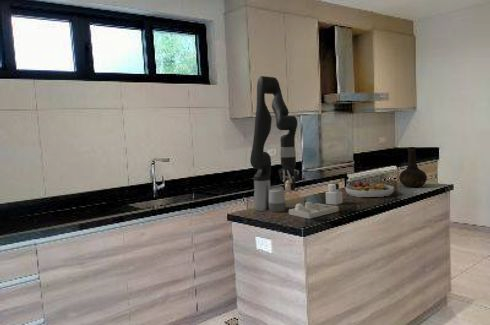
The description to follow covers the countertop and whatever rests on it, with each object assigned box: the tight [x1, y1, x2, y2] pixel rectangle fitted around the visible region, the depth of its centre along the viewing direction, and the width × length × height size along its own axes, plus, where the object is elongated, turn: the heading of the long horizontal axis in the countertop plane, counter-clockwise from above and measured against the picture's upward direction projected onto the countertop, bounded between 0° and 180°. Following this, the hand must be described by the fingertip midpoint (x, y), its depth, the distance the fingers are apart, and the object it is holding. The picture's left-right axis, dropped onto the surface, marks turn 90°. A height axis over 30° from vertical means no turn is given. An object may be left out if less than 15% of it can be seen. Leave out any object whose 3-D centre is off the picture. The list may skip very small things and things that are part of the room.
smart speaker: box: [268, 185, 287, 213], centre depth 214 cm, size 10×9×14 cm
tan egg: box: [284, 179, 295, 192], centre depth 194 cm, size 4×4×6 cm
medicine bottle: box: [325, 182, 343, 206], centre depth 228 cm, size 7×7×12 cm
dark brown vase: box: [398, 146, 428, 188], centre depth 271 cm, size 18×18×28 cm
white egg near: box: [294, 202, 304, 211], centre depth 203 cm, size 4×4×6 cm
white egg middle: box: [304, 201, 314, 209], centre depth 207 cm, size 4×4×6 cm
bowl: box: [345, 180, 395, 198], centre depth 252 cm, size 30×30×8 cm
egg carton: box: [288, 202, 340, 219], centre depth 204 cm, size 15×22×3 cm
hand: (289, 189), depth 194 cm, fingers closed on tan egg, 4 cm apart
